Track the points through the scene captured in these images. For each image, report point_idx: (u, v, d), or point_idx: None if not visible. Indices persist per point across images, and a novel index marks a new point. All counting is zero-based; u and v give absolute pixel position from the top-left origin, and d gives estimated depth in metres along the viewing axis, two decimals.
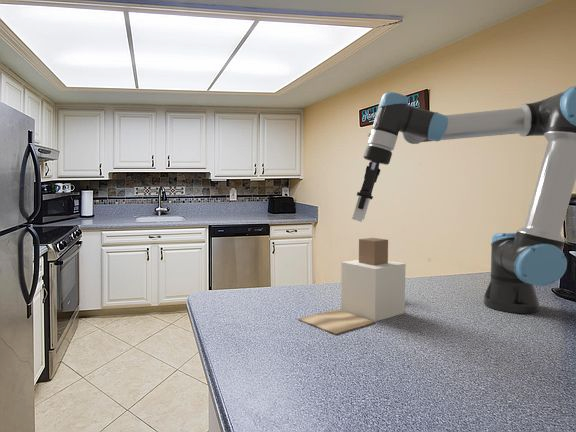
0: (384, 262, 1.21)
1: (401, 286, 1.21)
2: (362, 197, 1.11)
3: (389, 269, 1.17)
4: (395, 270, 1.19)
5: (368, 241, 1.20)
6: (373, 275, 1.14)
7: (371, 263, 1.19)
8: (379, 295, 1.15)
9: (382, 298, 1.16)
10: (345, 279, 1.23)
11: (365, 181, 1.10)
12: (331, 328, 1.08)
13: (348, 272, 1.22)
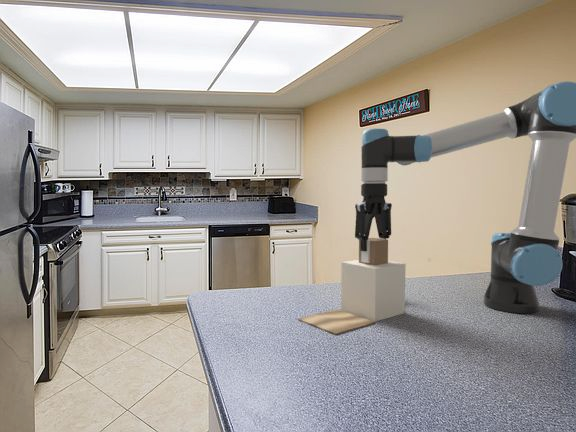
0: (384, 262, 1.21)
1: (401, 286, 1.21)
2: (361, 240, 1.19)
3: (389, 269, 1.17)
4: (395, 270, 1.19)
5: None
6: (373, 275, 1.14)
7: (371, 263, 1.19)
8: (379, 295, 1.15)
9: (382, 298, 1.16)
10: (345, 279, 1.23)
11: (356, 225, 1.18)
12: (331, 328, 1.08)
13: (348, 272, 1.22)
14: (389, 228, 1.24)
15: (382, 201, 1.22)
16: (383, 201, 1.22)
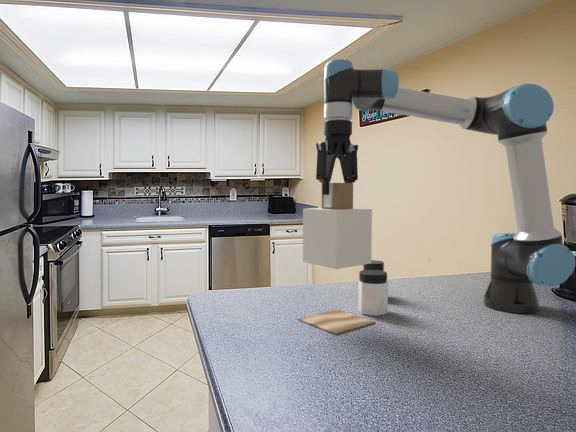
0: (348, 207, 1.11)
1: (367, 233, 1.11)
2: (323, 183, 1.09)
3: (353, 212, 1.07)
4: (360, 214, 1.09)
5: None
6: (334, 218, 1.04)
7: (334, 207, 1.09)
8: (341, 240, 1.05)
9: (344, 244, 1.06)
10: (306, 227, 1.13)
11: (317, 166, 1.08)
12: (331, 328, 1.08)
13: (309, 218, 1.12)
14: (355, 172, 1.14)
15: (347, 141, 1.12)
16: (348, 141, 1.12)
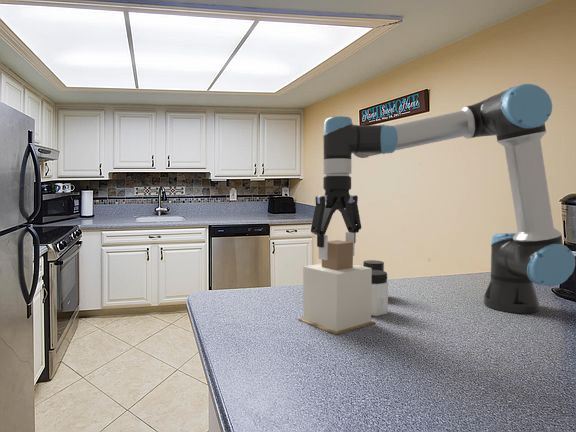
0: (348, 266, 1.12)
1: (367, 292, 1.12)
2: (317, 235, 1.09)
3: (353, 274, 1.08)
4: (360, 275, 1.10)
5: (331, 244, 1.11)
6: (334, 281, 1.05)
7: (334, 268, 1.10)
8: (341, 303, 1.06)
9: (344, 306, 1.07)
10: (306, 285, 1.14)
11: (314, 218, 1.08)
12: None
13: (310, 277, 1.13)
14: (358, 222, 1.16)
15: (346, 196, 1.13)
16: (347, 195, 1.13)
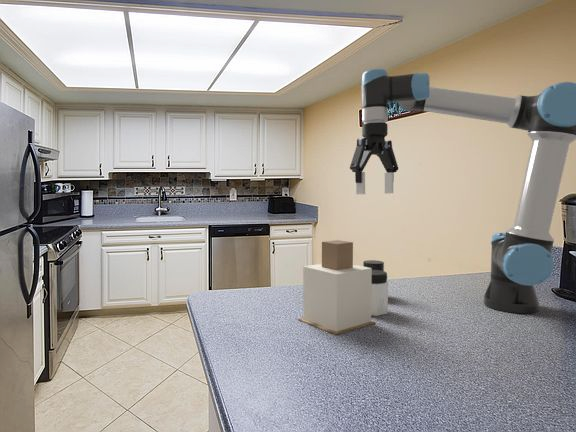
0: (348, 266, 1.12)
1: (367, 292, 1.12)
2: (356, 172, 1.20)
3: (353, 274, 1.08)
4: (360, 275, 1.10)
5: (331, 244, 1.11)
6: (334, 281, 1.05)
7: (334, 268, 1.10)
8: (341, 303, 1.06)
9: (344, 306, 1.07)
10: (306, 285, 1.14)
11: (354, 157, 1.20)
12: None
13: (310, 277, 1.13)
14: (395, 163, 1.30)
15: (382, 142, 1.26)
16: (383, 142, 1.26)
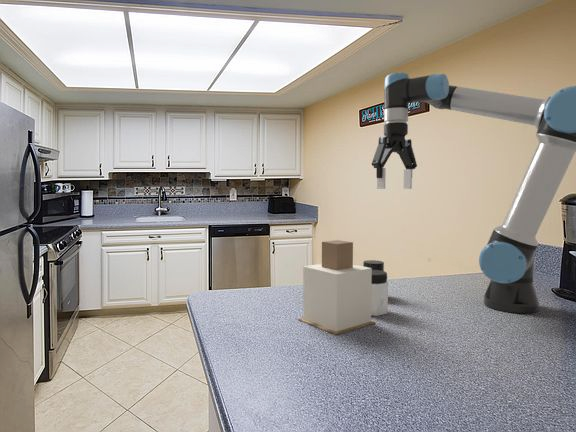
0: (348, 266, 1.12)
1: (367, 292, 1.12)
2: (377, 168, 1.30)
3: (353, 274, 1.08)
4: (360, 275, 1.10)
5: (331, 244, 1.11)
6: (334, 281, 1.05)
7: (334, 268, 1.10)
8: (341, 303, 1.06)
9: (344, 306, 1.07)
10: (306, 285, 1.14)
11: (375, 154, 1.30)
12: None
13: (310, 277, 1.13)
14: (414, 161, 1.39)
15: None
16: (403, 140, 1.35)
